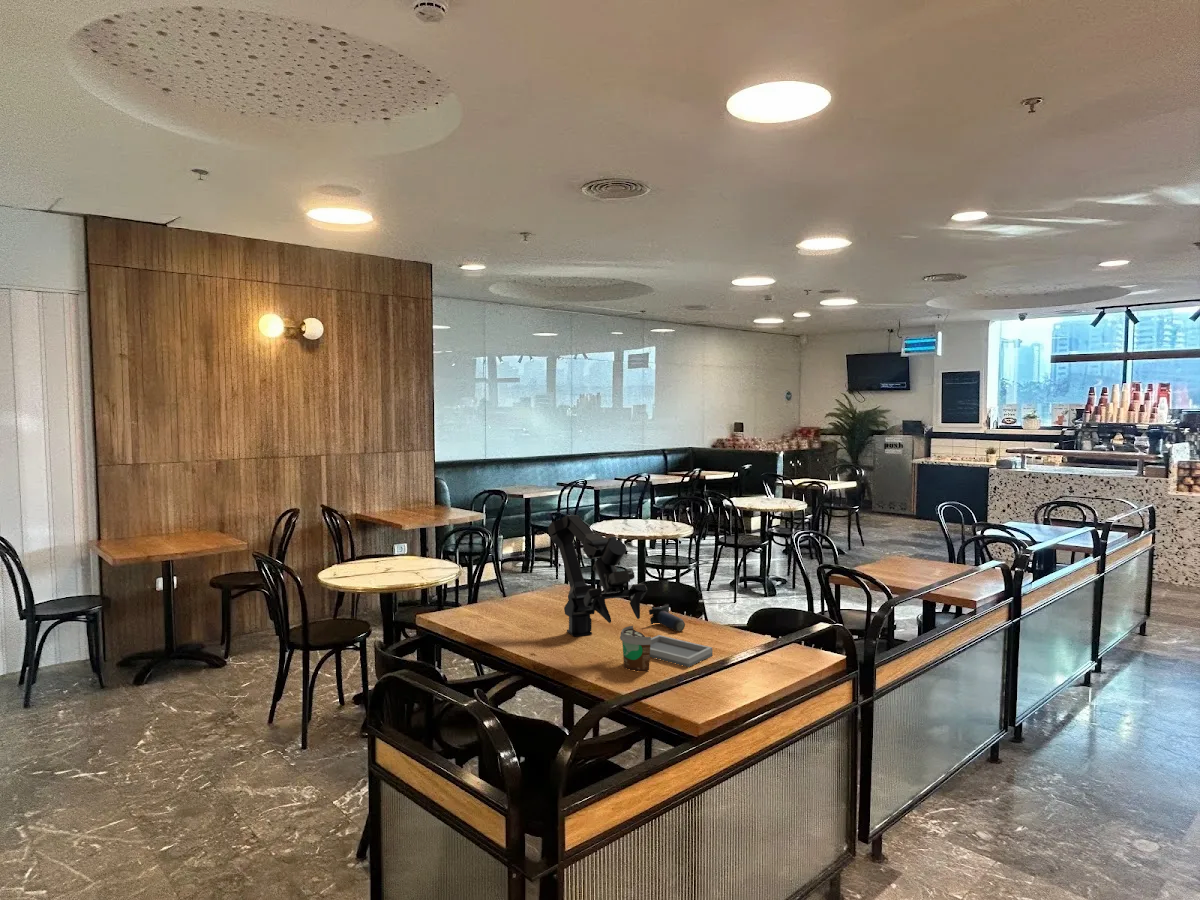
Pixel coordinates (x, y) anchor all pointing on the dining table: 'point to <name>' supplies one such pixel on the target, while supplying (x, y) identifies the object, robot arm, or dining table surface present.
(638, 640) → the food container
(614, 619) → the dining table surface
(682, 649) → the dock
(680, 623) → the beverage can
